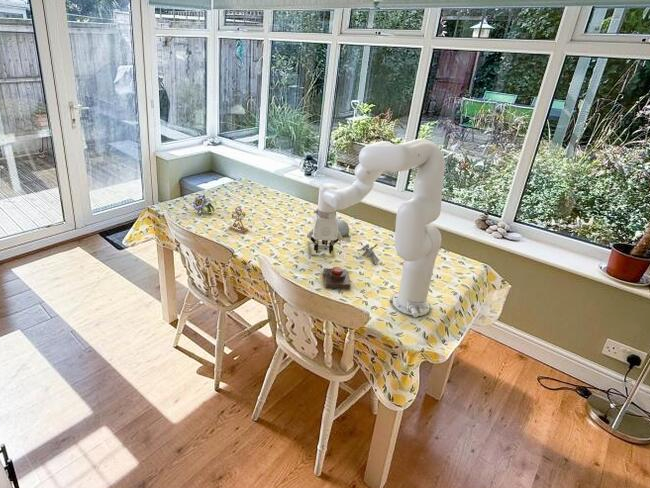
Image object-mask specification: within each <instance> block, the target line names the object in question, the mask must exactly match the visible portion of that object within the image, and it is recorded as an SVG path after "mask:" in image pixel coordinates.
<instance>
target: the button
mask: <svg viewBox="0 0 650 488" xmlns="http://www.w3.org/2000/svg"><path fill="white" fill-rule="evenodd" d="M332 268H333V271H332V273H333V274H335V275H341V274H342V269H343V268H342V267H340V266H334V267H332Z"/></svg>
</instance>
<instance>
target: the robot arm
mask: <svg viewBox="0 0 650 488" xmlns="http://www.w3.org/2000/svg"><path fill="white" fill-rule="evenodd" d="M358 162H359V163H358V164H357V165H356V166H355V168H354V176H355V178H356V179H355V180H354V181H353V182H352V184H350V185H349V186H346V187H343V188H341V189H340V188H339V187H338V185H337V184H335V183H331V182H325V183H322V184H320V185H319V187H318V188H319V189H318V201H317V208H316V209H314V210H313V214H315V216H314V219H313V225H312V229H311V230H310V231H309V232H308V233H307V234H306V238H307V239H309V240H310V241H311V242H312V243H313V244H314V245H313V251H315V254H318V252H319V248H318V244H319V243H318V241H322V240H328V241H330V242H329V243H328V245H330V248H328V253H329V255H332V252H333V251H334V246H335V244H337V243H338V242H339V241H340V240H341V239H343V236H341V234H340V233H339V232H338V221H339V218H338V216H337V211H341V210H344V209H347V208H350V207H351V206H354V205H357V204H359V203H360V202H362V201H363V200H364V199H365V198H366V196H368V195H369V194H370V192H371V191H372V190H373V187H374V185H375V182H376V181H377V180H378V179H379V177H380V176H381V175H382V174H383V173H385V172H405V171H409V170H411V169H414V168H417V172H416V175H415V177H414V181H413V193H412V197H411V198H410V199H408V200H406V201H404V202H402V203H401V204H400V206H399V207H398V209H397V212H396V217H395V231H394V248H395V251H396V254H397V256H398V257H399V258H400V259H401V260H403V266H402V271H401V277H400V282H399V287H398V293H396V294H394V296H393V297H392V305H393V306H394V307H395V309H396V310H398V311H399V312H401V313H403V314H405V315H409V316H413V318H417V317H421V316H425V315H427V314H428V313H429V312H430V307H431V305H430V304H429V302H428V301H427V300H428V295H429V290H430V285H431V282H432V276H433V272H434V268H435V264H436V260H437V257H438V254H439V252H440V249H441V247H442V241H443V239H442V234H441V231H440V230H439V229H438V228H437V226H435V225H433V224H431V223H433V222H435V221H437V219H438V218H439V217H440V215H441V211H442V202H443V201H442V199H443V190H444V189H443V188H444V176H445V168H446V163H445V162H446V161H445V156H444V153H443V151H442V149H441V148H440V146H438V145H437V144H436V143H434V142H433V141H431V140H429V139H426V138H417V139H413V140H409V141H406V142H401V143H398V144H394V143H392V142H390V141H388V140H381V141H377V142H372V143H370V144H367V145H365V146H363V148H361V150H360V152H359V154H358ZM335 235H336V236H335ZM337 236H338V237H337ZM341 241H342V240H341Z"/></svg>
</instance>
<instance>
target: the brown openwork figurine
mask: <svg viewBox="0 0 650 488" xmlns="http://www.w3.org/2000/svg"><path fill="white" fill-rule="evenodd" d="M234 214H235V215H234ZM241 216H242V217H241ZM245 217H246V212H244V211H243V210H242V208H241V207H240V206H237V207H235V208H234V212H233V213H232V214H231V218H232V219H233V220H235V221H234V222H233V224H232V225H233V226H234V225H235V226H234V227H237V226H240V227H238V229H241V230H238V229H235V228H232V227H230V226H228V229H229V230H232V231H235V232H237V233H238V232H239V233H241V234H245V233H247V232H248V231H249V229H248V228H246V227H244V224H243V222H242V219H245Z"/></svg>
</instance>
